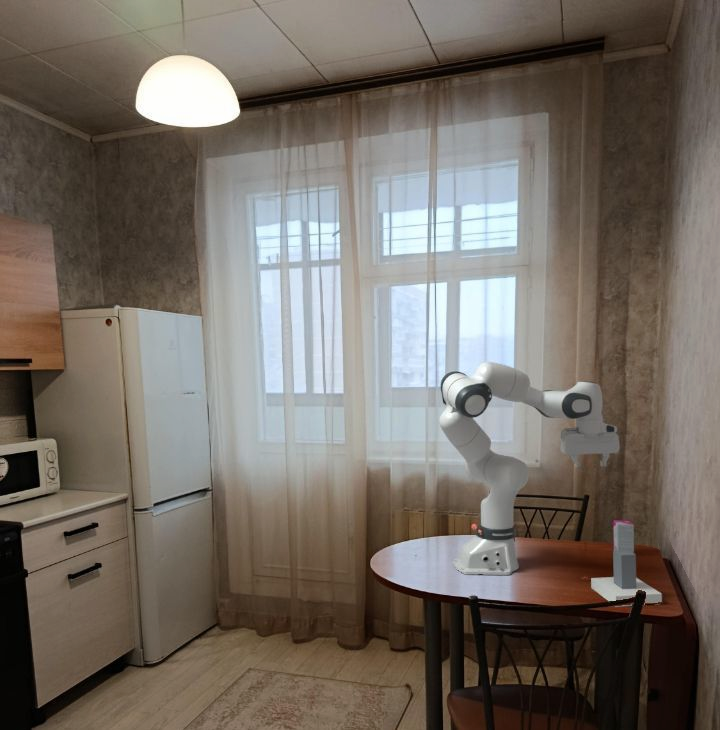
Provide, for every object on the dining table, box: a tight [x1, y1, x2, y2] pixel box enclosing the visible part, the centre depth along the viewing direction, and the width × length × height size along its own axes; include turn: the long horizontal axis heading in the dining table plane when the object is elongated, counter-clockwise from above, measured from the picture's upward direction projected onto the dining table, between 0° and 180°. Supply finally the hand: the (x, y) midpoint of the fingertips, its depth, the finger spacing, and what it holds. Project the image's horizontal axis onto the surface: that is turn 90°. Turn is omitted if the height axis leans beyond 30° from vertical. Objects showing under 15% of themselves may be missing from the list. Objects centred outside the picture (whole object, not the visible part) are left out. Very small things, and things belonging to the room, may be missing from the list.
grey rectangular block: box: [612, 549, 637, 589], centre depth 167 cm, size 4×4×10 cm
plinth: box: [590, 576, 663, 608], centre depth 167 cm, size 14×14×3 cm
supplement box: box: [613, 519, 635, 554], centre depth 205 cm, size 6×6×12 cm
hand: (590, 466), depth 195 cm, fingers open, 8 cm apart
